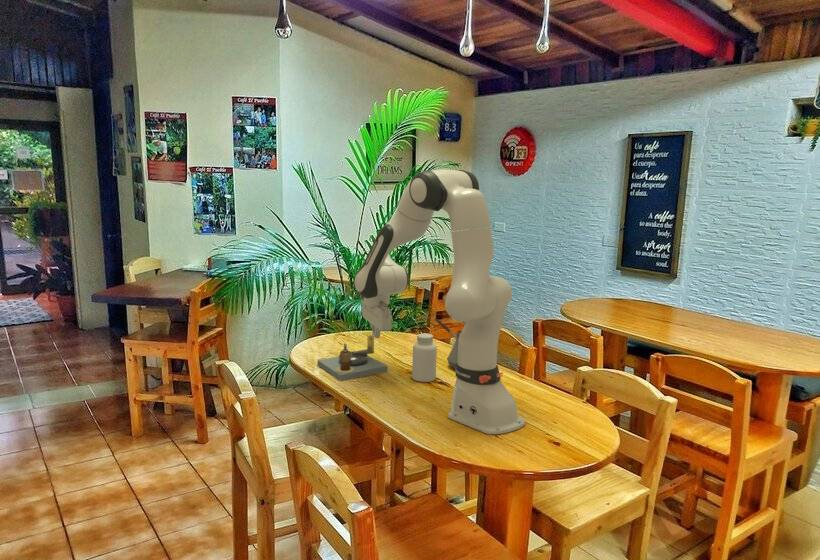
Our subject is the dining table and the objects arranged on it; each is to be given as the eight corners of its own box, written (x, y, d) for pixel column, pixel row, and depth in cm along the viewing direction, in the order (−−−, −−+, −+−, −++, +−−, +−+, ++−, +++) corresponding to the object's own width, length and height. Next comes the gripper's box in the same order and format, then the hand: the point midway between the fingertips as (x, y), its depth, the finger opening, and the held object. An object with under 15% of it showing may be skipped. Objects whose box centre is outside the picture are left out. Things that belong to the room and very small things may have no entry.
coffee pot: (486, 368, 201) (488, 327, 199) (463, 375, 194) (464, 332, 191) (444, 353, 217) (445, 315, 215) (422, 359, 210) (423, 320, 208)
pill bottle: (426, 384, 185) (427, 340, 182) (407, 378, 190) (408, 335, 187) (440, 377, 191) (441, 334, 188) (421, 372, 196) (422, 330, 193)
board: (387, 371, 196) (387, 364, 196) (340, 381, 186) (340, 374, 186) (362, 357, 211) (362, 351, 211) (317, 365, 201) (317, 358, 201)
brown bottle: (352, 369, 190) (352, 344, 189) (343, 371, 188) (343, 346, 187) (347, 366, 193) (347, 341, 191) (338, 368, 191) (338, 343, 190)
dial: (380, 361, 200) (380, 339, 199) (347, 367, 193) (347, 344, 191) (366, 353, 208) (366, 332, 207) (334, 359, 201) (333, 337, 200)
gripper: (397, 304, 188) (395, 344, 190) (375, 291, 206) (374, 328, 209) (379, 305, 185) (378, 346, 188) (358, 292, 203) (358, 330, 206)
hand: (376, 336), depth 198 cm, fingers closed
